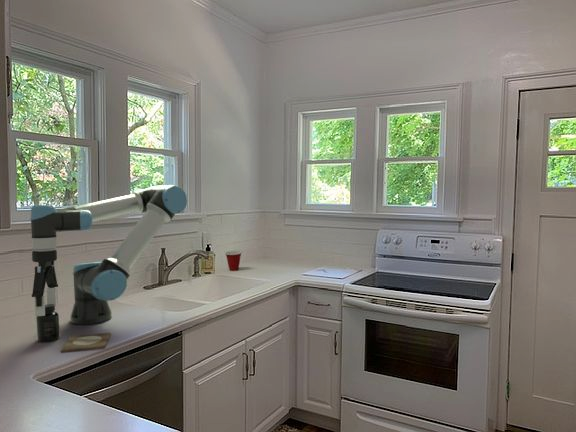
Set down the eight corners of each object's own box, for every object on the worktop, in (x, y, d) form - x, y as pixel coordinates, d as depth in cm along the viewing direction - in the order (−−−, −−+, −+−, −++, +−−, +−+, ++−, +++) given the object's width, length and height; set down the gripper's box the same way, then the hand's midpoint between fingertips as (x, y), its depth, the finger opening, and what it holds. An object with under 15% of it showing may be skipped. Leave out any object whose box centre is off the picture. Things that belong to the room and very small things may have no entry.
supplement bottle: (63, 336, 156) (61, 302, 156) (53, 342, 150) (52, 308, 149) (43, 336, 156) (42, 303, 155) (33, 343, 149) (31, 308, 149)
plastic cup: (222, 271, 280) (221, 252, 279) (229, 268, 290) (229, 250, 290) (237, 272, 277) (237, 253, 276) (244, 269, 287) (244, 250, 286)
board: (71, 338, 154) (71, 335, 154) (110, 334, 157) (110, 332, 157) (61, 352, 140) (60, 349, 140) (104, 348, 143) (104, 345, 143)
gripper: (43, 246, 162) (44, 302, 163) (19, 254, 138) (21, 321, 139) (65, 245, 164) (66, 301, 165) (45, 254, 140) (47, 319, 141)
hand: (46, 310), depth 152 cm, fingers open, 13 cm apart
